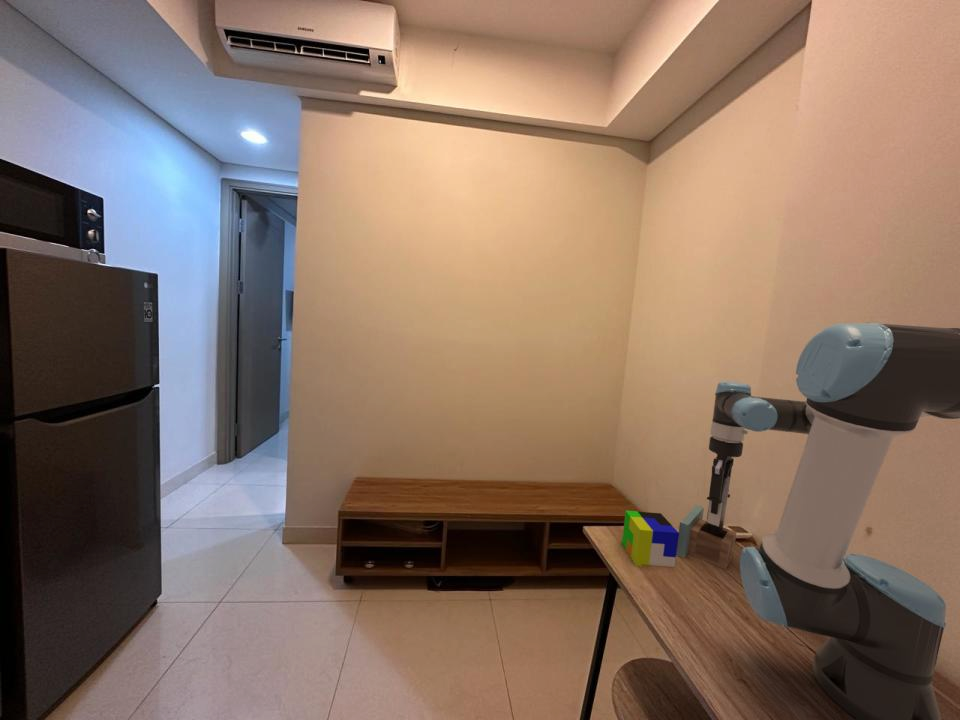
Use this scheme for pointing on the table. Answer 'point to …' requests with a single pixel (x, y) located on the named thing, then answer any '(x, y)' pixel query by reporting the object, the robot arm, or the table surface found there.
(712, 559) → the brown wooden box
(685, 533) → the backstop
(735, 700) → the table surface
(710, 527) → the dowel
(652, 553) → the puzzle toy
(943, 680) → the table surface
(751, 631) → the table surface
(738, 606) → the table surface
